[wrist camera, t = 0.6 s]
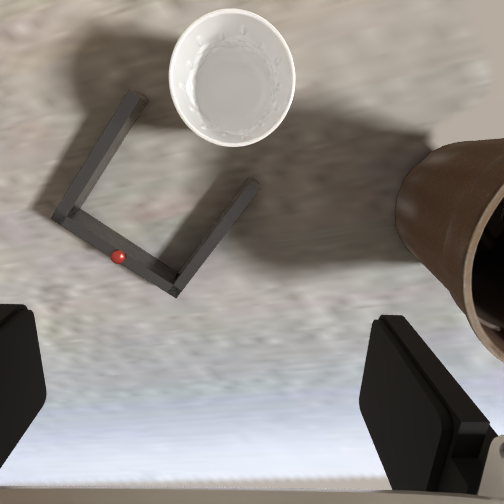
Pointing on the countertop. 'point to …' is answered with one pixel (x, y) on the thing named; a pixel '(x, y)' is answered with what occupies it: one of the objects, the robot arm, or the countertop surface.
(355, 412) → the countertop surface
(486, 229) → the plant pot
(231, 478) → the countertop surface
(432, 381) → the robot arm
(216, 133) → the white cup
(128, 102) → the bracket
